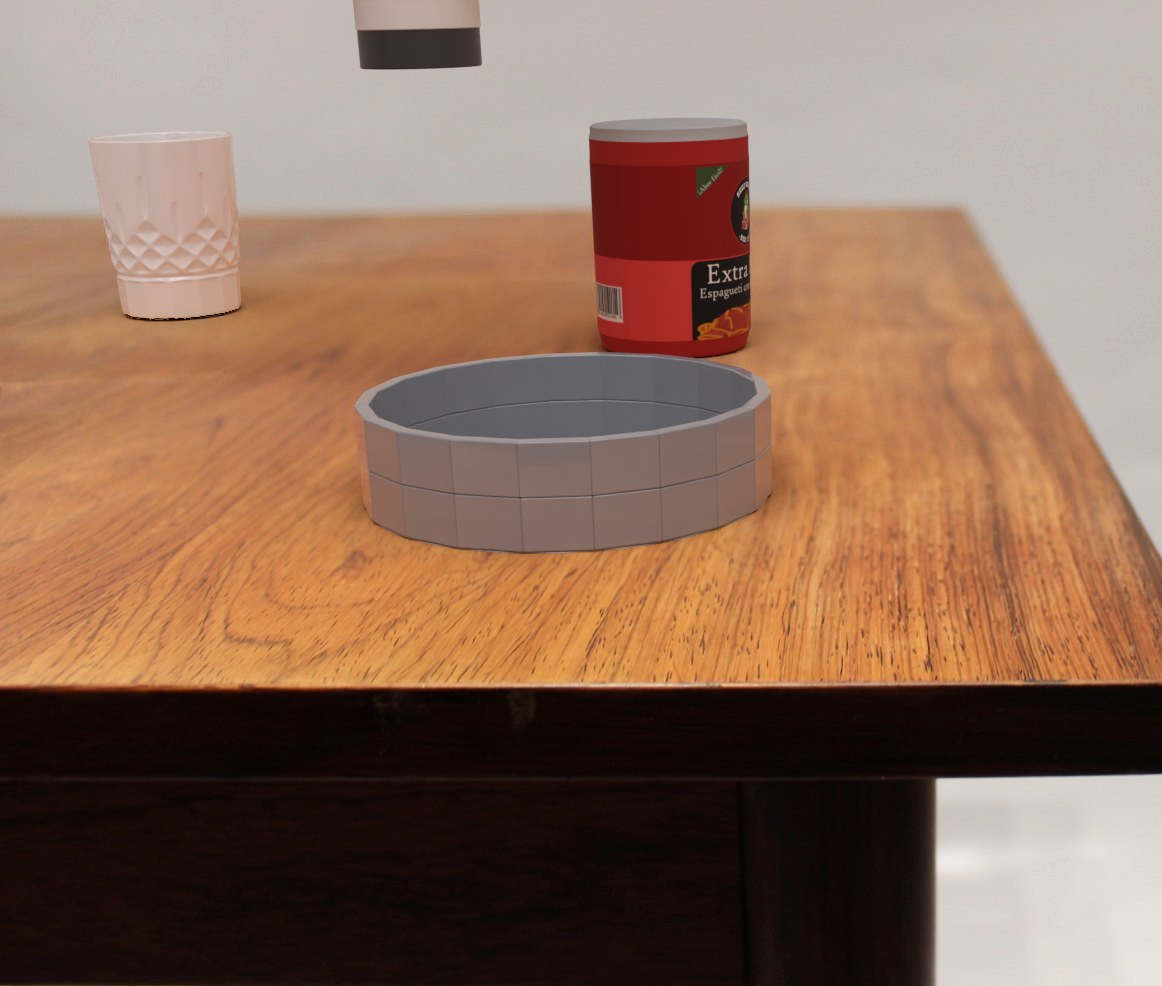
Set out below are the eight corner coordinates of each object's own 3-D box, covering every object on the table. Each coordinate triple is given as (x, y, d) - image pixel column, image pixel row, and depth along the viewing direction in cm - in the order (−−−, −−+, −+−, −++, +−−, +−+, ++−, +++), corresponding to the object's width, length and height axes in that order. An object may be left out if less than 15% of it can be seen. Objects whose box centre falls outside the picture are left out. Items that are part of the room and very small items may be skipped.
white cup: (244, 318, 96) (223, 138, 93) (101, 325, 95) (75, 143, 92) (257, 297, 103) (238, 129, 100) (125, 303, 102) (101, 133, 99)
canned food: (724, 363, 81) (719, 128, 78) (573, 356, 84) (561, 128, 80) (771, 334, 88) (768, 117, 84) (630, 328, 91) (621, 117, 87)
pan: (333, 574, 52) (320, 448, 50) (398, 459, 65) (389, 357, 64) (784, 560, 52) (783, 435, 51) (758, 449, 65) (757, 347, 64)
